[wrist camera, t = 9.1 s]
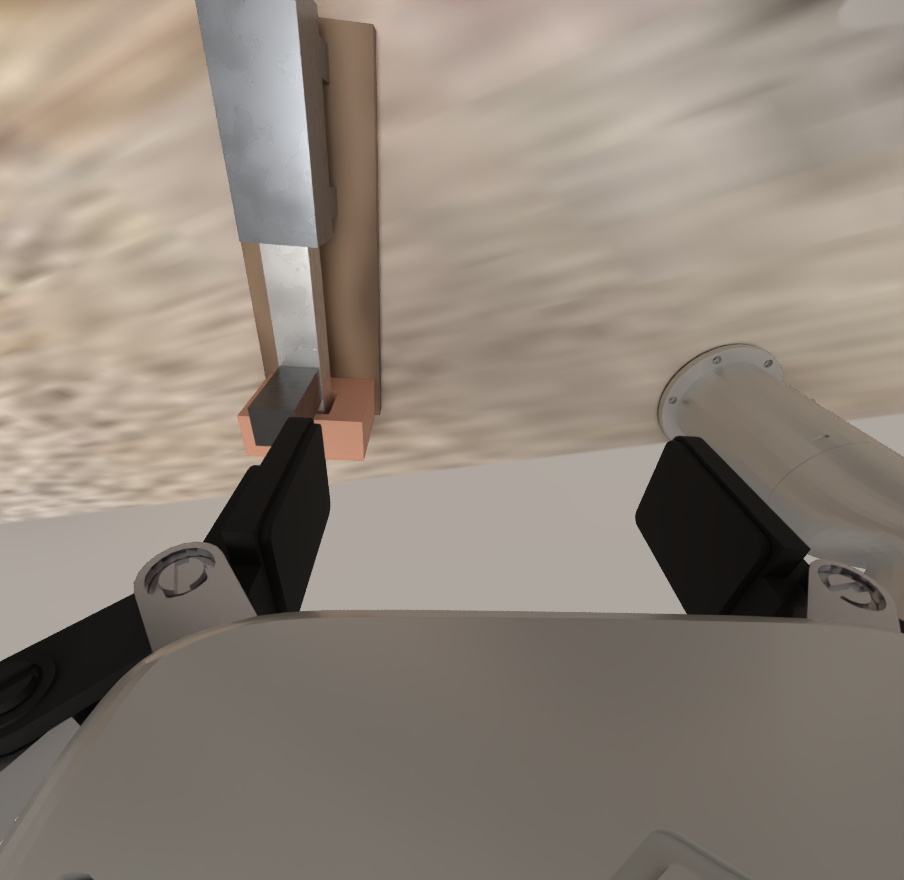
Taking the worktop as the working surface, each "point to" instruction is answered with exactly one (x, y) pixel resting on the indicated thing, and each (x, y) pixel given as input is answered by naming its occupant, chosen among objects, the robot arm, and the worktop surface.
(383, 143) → the worktop surface
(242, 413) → the socket block
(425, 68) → the worktop surface
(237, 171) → the outer sleeve
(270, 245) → the tube
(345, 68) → the base board
